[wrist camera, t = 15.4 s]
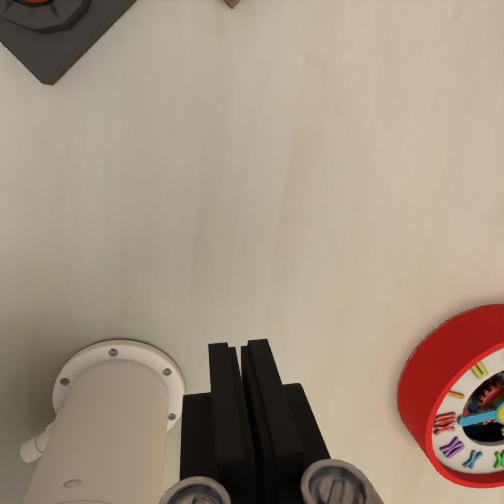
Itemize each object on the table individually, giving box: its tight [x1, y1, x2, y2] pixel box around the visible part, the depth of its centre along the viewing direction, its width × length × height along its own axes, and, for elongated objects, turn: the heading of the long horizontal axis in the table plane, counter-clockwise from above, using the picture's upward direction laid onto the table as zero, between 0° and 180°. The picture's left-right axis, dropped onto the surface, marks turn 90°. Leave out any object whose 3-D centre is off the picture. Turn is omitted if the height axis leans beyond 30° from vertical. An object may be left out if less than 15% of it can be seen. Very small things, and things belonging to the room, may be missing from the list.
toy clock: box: [397, 304, 504, 488], centre depth 43 cm, size 20×6×20 cm
